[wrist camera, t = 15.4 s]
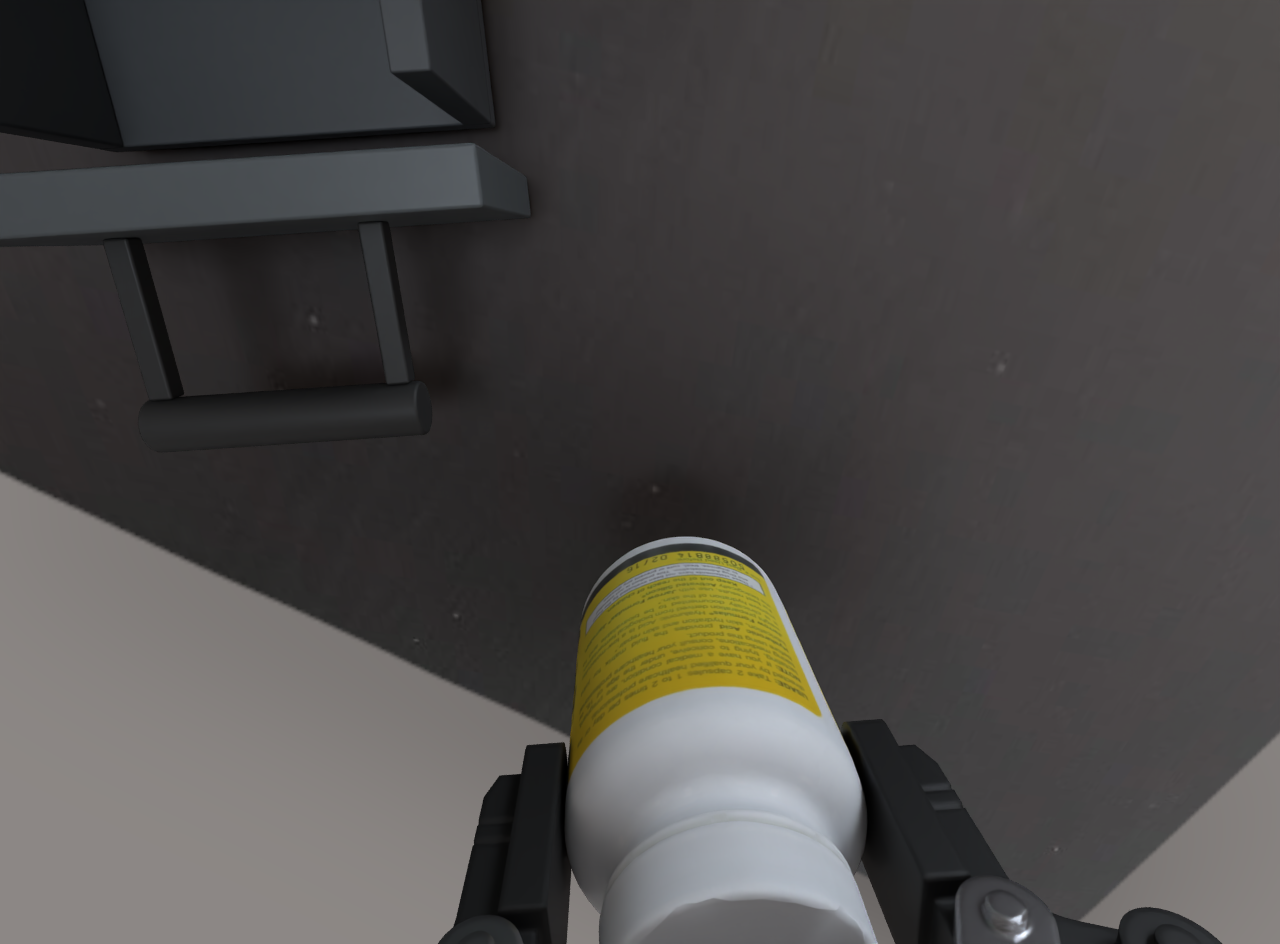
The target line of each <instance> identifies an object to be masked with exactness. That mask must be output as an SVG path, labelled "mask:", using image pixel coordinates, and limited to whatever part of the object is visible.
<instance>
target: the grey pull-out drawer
mask: <svg viewBox="0 0 1280 944" xmlns="http://www.w3.org/2000/svg"><path fill="white" fill-rule="evenodd" d="M492 127H495V117H494V108H493V100H492V91H491V83H490V74H489V66H488V57H487V49H486V40H485V31H484V23H483V14H482V6H481V0H0V132H1V133H7V134H13V135H19V136H25V137H31V138H37V139H43V140H49V141H55V142H61V143H66V144H72V145H78V146H84V147H90V148H96V149H101V150H107V151H113V152H127V151H142V150H158V149H173V148H188V147H203V146H218V145H234V144H249V143H264V142H279V141H294V140H309V139H325V138H340V137H355V136H370V135H385V134H401V133H416V132H431V131H446V130H461V129H477V128H492ZM530 215H531V214H530V204H529V195H528V185H527V178H526V176H525V175H523V174H521V173H520V172H518V171H517V170H515V169H514V168H512V167H511V166H509V165H507V164H506V163H504V162H503V161H501V160H500V159H498V158H496V157H495V156H493V155H492V154H490V153H489V152H487V151H486V150H484V149H482V148H481V147H479V146H478V145H476V144H474V143H458V144H443V145H428V146H413V147H397V148H382V149H367V150H352V151H337V152H321V153H306V154H291V155H276V156H261V157H246V158H230V159H215V160H200V161H185V162H170V163H155V164H139V165H124V166H109V167H94V168H79V169H63V170H48V171H33V172H18V173H3V174H0V247H14V246H79V245H104V248H105V251H106V255H107V258H108V261H109V265H110V268H111V272H112V275H113V278H114V282H115V285H116V289H117V292H118V295H119V299H120V302H121V306H122V309H123V312H124V316H125V319H126V323H127V326H128V329H129V333H130V336H131V339H132V343H133V346H134V350H135V353H136V356H137V360H138V363H139V367H140V370H141V373H142V377H143V380H144V384H145V387H146V390H147V394H148V397H149V399H150V400H149V401H147V402H146V403H145V404H144V405H143V406H142V408H141V409H140V412H139V417H138V426H139V431H140V434H141V437H142V439H143V441H144V442H145V444H146V445H147V446H148V447H149V448H150V449H152V450H154V451H157V452H176V451H191V450H206V449H221V448H236V447H250V446H265V445H280V444H295V443H309V442H324V441H339V440H354V439H368V438H383V437H398V436H413V435H425V434H427V433H428V432H429V430H430V427H431V422H432V406H431V400H430V396H429V392H428V390H427V387H426V385H425V384H424V383H423V382H421V381H412V380H414V378H415V375H414V369H413V363H412V358H411V352H410V346H409V340H408V334H407V328H406V322H405V316H404V310H403V304H402V298H401V292H400V286H399V280H398V274H397V268H396V262H395V256H394V251H393V245H392V239H391V233H390V227H401V226H416V225H431V224H446V223H461V222H476V221H491V220H506V219H521V218H529V217H530ZM356 229H358V231H359V236H360V242H361V247H362V253H363V258H364V263H365V269H366V274H367V280H368V285H369V291H370V296H371V302H372V307H373V313H374V318H375V324H376V329H377V335H378V340H379V346H380V351H381V357H382V362H383V368H384V373H385V379H386V383H379V384H364V385H349V386H334V387H320V388H305V389H290V390H275V391H260V392H245V393H231V394H216V395H201V396H186V397H179V396H182V395H184V390H183V387H182V383H181V380H180V376H179V372H178V369H177V365H176V362H175V358H174V354H173V351H172V347H171V344H170V340H169V336H168V333H167V329H166V326H165V322H164V318H163V315H162V311H161V308H160V304H159V300H158V297H157V293H156V290H155V286H154V282H153V279H152V275H151V271H150V268H149V264H148V261H147V257H146V253H145V250H144V246H143V244H145V243H160V242H175V241H190V240H205V239H220V238H235V237H250V236H265V235H281V234H296V233H311V232H326V231H341V230H356Z"/></svg>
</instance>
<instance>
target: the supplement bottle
mask: <svg viewBox="0 0 1280 944" xmlns="http://www.w3.org/2000/svg"><path fill="white" fill-rule="evenodd" d="M577 652H578V654H577V664H576V674H575V688H574V699H573V711H572V725H571V735H570V747H569V757H568V771H567V774H566V787H565V825H564V833H565V844H566V849H567V855H568V858H569V861H570V865H571V868H572V871H573V874H574V876H575V878H576V880H577V882H578V885H579V886H580V888H581V889H582V891H583V893H584V894H585V896H586V897H587V899H588V900H589V902H590V903H591V904H592V905H593V907H595V909H596V910H597V911H598V912H599V913H600V914H601V915H600V921H599V944H878V943H877V940H876V937H875V934H874V931H873V929H872V926H871V923H870V920H869V918H868V914H867V912H866V909H865V906H864V903H863V900H862V897H861V894H860V892H859V889H858V886H857V884H856V882H855V879H854V875H855V873H856V871H857V868H858V866H859V864H860V862H861V858H862V855H863V852H864V848H865V842H866V836H867V823H868V820H867V807H866V801H865V795H864V791H863V787H862V784H861V781H860V778H859V776H858V773H857V771H856V768H855V765H854V762H853V759H852V757H851V755H850V752H849V750H848V748H847V745H846V743H845V741H844V739H843V737H842V735H841V733H840V731H839V728H838V726H837V724H836V722H835V720H834V717H833V715H832V713H831V711H830V709H829V706H828V704H827V702H826V700H825V698H824V695H823V693H822V691H821V689H820V687H819V684H818V682H817V680H816V678H815V676H814V673H813V671H812V668H811V666H810V664H809V662H808V660H807V658H806V655H805V653H804V651H803V648H802V646H801V644H800V641H799V640H798V637H797V635H796V633H795V631H794V628H793V626H792V624H791V622H790V619H789V617H788V615H787V612H786V610H785V608H784V606H783V603H782V601H781V600H780V598H779V596H778V594H777V592H776V590H775V588H774V586H773V584H772V582H771V581H770V579H769V578H768V576H767V575H766V574H765V572H764V571H763V570H762V569H761V568H760V567H759V566H758V565H757V564H756V563H755V562H754V561H753V560H751V559H750V558H749V557H748V556H746V555H745V554H743V553H742V552H740V551H738V550H736V549H735V548H733V547H730V546H728V545H726V544H723V543H721V542H718V541H714V540H710V539H706V538H700V537H672V538H666V539H661V540H657V541H653V542H650V543H647V544H644V545H642V546H640V547H637V548H635V549H633V550H632V551H630V552H628V553H627V554H625V555H624V556H622V557H621V558H620V559H618V560H617V561H616V562H615V563H613V564H612V565H611V566H610V567H609V568H608V569H607V570H606V571H605V572H604V573H603V574H602V575H601V577H600V578H599V579H598V581H597V582H596V584H595V585H594V587H593V588H592V590H591V592H590V594H589V596H588V598H587V600H586V603H585V606H584V610H583V614H582V619H581V624H580V631H579V642H578V650H577Z"/></svg>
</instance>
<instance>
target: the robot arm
mask: <svg viewBox="0 0 1280 944" xmlns="http://www.w3.org/2000/svg"><path fill="white" fill-rule="evenodd" d="M841 735H842V737H843V739H844V741H845V743H846V745H847V748H848V750H849V752H850V755H851V757H852V759H853V762H854V765H855V768H856V771H857V773H858V776H859V778H860V781H861V784H862V787H863V791H864V795H865V801H866V807H867V820H868V823H867V836H866V842H865V848H864V852H863V855H862V858H861V859H862V862H863V864H864V867H865V869H866V872H867V874H868V877H869V879H870V882H871V884H872V887H873V889H874V892H875V894H876V897H877V899H878V902H879V904H880V906H881V909H882V912H883V914H884V917H885V919H886V922H887V924H888V927H889V929H890V932H891V934H892V937H893V939H894V942H895V944H1222V943H1221V942H1220V941H1219V940H1218V939H1217V938H1215V937H1214V936H1213V935H1212V934H1211V933H1209V932H1208V931H1207V930H1205V929H1204V928H1203V927H1201V926H1199V925H1198V924H1196V923H1195V922H1193V921H1191V920H1189V919H1187V918H1185V917H1183V916H1181V915H1179V914H1176V913H1173V912H1170V911H1167V910H1163V909H1159V908H1151V907H1148V908H1147V907H1145V908H1137V909H1134V910H1131V911H1129V912H1128V913H1126V914H1125V915H1124V916H1123V918H1122V919H1121V921H1120V925H1119V929H1113V928H1108V927H1104V926H1099V925H1095V924H1090V923H1085V922H1080V921H1076V920H1072V919H1068V918H1064V917H1062V916H1059V915H1056V914H1054V913H1052V912H1051V911H1050V910H1049V908H1048V907H1047V905H1046V904H1045V903H1044V902H1043V901H1042V900H1041V899H1040V898H1039V897H1038V896H1037V895H1035V894H1034V893H1033V892H1032V891H1030V890H1029V889H1027V888H1026V887H1024V886H1022V885H1020V884H1019V883H1017V882H1014V881H1012V880H1010V879H1009V878H1008V877H1007V875H1006V874H1005V872H1004V870H1003V869H1002V867H1001V865H1000V864H999V862H998V861H997V859H996V857H995V856H994V854H993V853H992V851H991V849H990V848H989V846H988V844H987V843H986V841H985V840H984V838H983V836H982V835H981V833H980V831H979V830H978V828H977V827H976V825H975V823H974V822H973V820H972V819H971V817H970V815H969V814H968V812H967V810H966V809H965V808H963V806H962V802H961V801H960V799H959V797H958V796H957V794H956V793H955V791H954V790H952V789H951V785H950V783H949V781H948V780H947V778H946V776H945V775H944V773H943V772H942V770H941V768H940V767H939V765H938V764H937V763H936V762H935V761H934V760H933V759H932V758H930V757H929V756H928V755H927V754H925V753H924V752H923V751H922V750H921V749H919V748H918V747H917V746H916V745H905V746H898V744H897V742H896V740H895V739H894V737H893V735H892V733H891V731H890V730H889V728H888V726H887V724H886V723H885V722H884V721H883V720H882V719H877V720H863V721H850V722H844V723H843V725H842V729H841ZM567 771H568V763H567V754H566V747H565V743H564V742H563V743H549V744H537V745H527V747H526V749H525V755H524V761H523V767H522V773H521V774H516V775H502V776H499V777H498V779H497V780H496V782H495V783H494V784H493V786H492V787H491V788H490V790H489V791H488V792H487V794H486V795H485V797H484V799H483V804H482V808H481V812H480V817H479V825H478V826H477V830H476V834H475V839H474V845H473V847H472V851H471V856H470V860H469V864H468V869H467V873H466V878H465V882H464V886H463V891H462V895H461V899H460V904H459V908H458V912H457V917H456V920H455V924H454V927H453V928H452V929H451V930H450V931H448V932H447V933H446V934H445V935H444V937H443V938H442V939H441V940H440V941H439V943H438V944H566V942H567V927H568V912H569V895H570V881H571V865H570V861H569V858H568V855H567V849H566V844H565V833H564V825H565V787H566V774H567Z"/></svg>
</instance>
